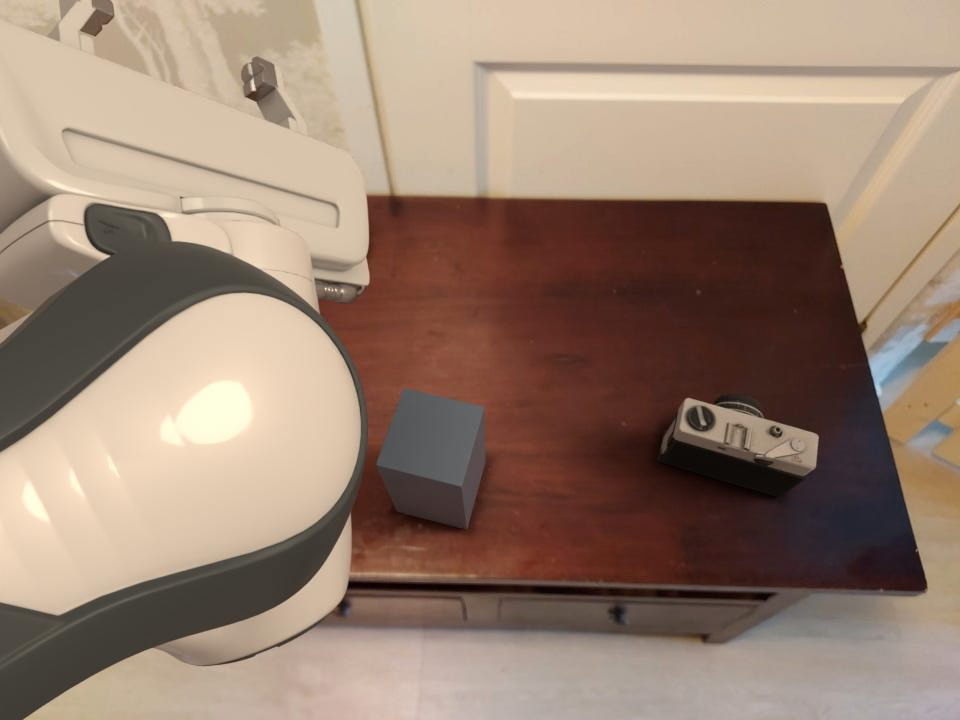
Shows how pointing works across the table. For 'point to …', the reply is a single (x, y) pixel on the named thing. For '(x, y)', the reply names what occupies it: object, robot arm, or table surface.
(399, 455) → the block
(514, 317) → the table surface
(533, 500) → the table surface
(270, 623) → the robot arm
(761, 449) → the camera
